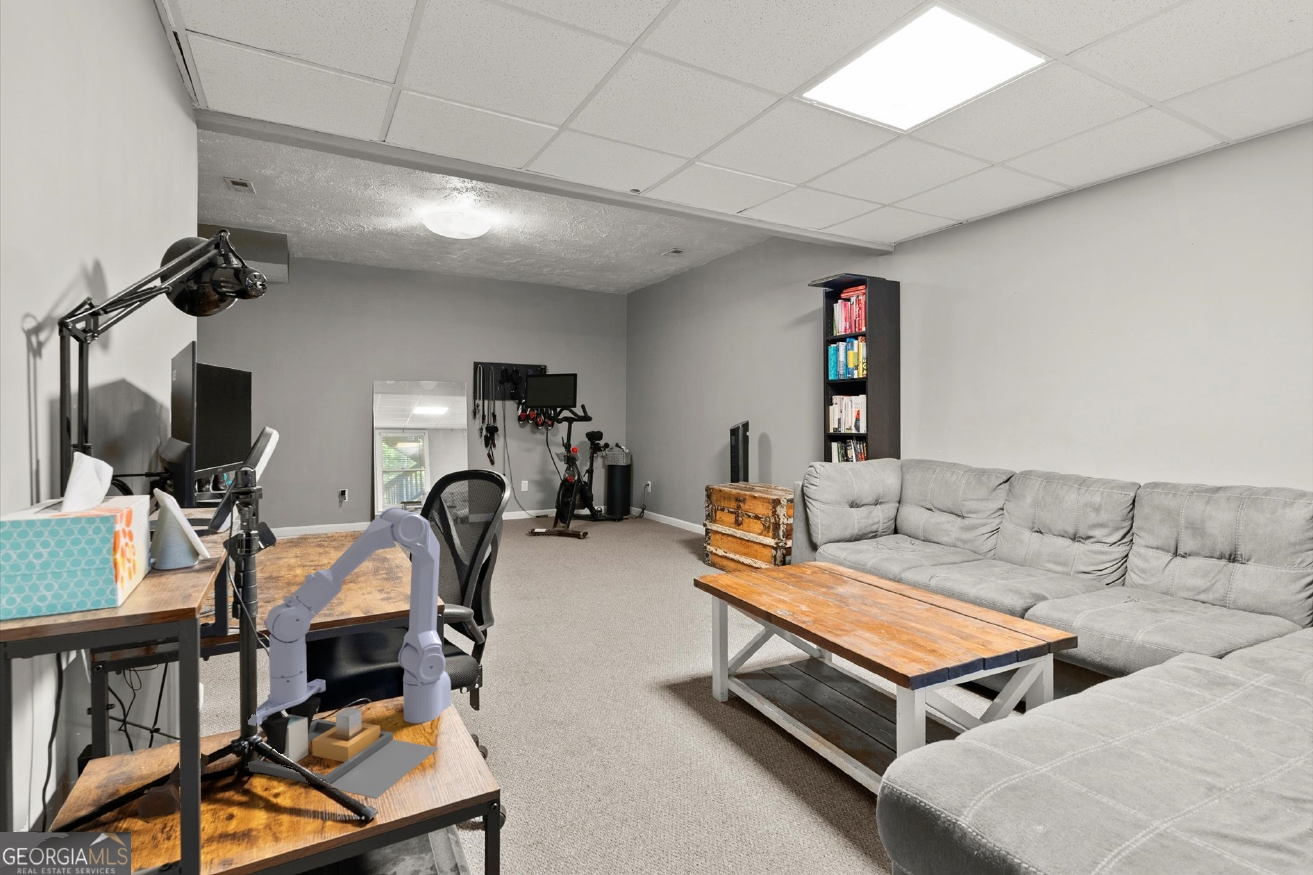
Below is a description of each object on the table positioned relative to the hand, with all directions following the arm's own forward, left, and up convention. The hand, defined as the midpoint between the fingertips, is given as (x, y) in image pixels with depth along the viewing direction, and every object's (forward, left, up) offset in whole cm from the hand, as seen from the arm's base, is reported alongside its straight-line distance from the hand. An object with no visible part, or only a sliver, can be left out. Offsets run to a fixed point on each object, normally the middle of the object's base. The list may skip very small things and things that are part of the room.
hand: (290, 746), depth 114 cm
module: (0, 0, -2) cm, 2 cm away
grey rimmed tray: (-3, +4, -3) cm, 6 cm away
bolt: (+12, -10, -4) cm, 16 cm away
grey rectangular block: (-6, +8, -2) cm, 10 cm away
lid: (-3, +18, -3) cm, 19 cm away
